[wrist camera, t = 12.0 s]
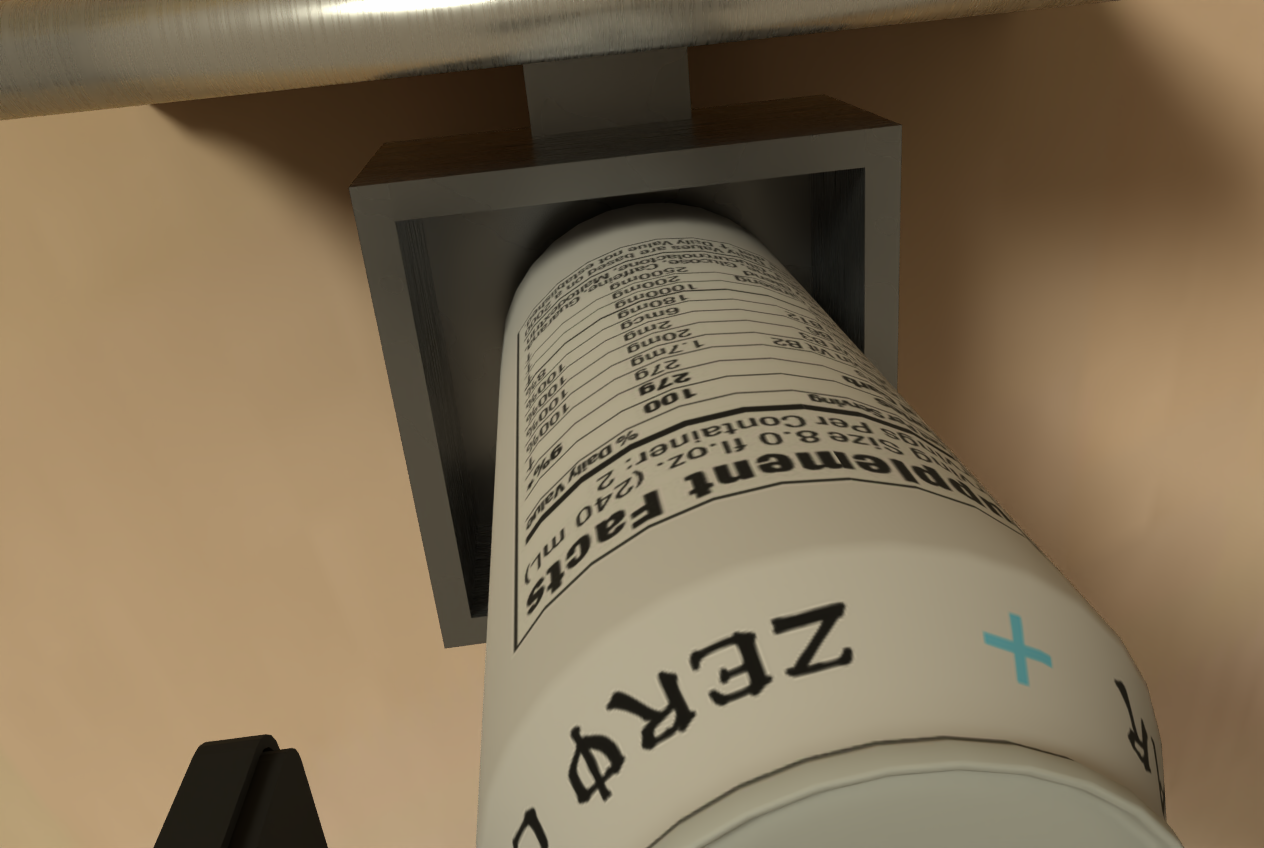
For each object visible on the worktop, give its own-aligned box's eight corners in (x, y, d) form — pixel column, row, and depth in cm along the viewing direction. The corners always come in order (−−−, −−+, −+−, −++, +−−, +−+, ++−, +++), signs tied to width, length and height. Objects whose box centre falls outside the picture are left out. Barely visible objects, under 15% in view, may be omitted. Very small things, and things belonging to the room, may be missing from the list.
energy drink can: (497, 464, 22) (459, 1293, 8) (507, 182, 19) (476, 681, 6) (770, 473, 22) (1157, 1243, 9) (812, 202, 20) (1434, 685, 6)
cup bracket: (994, 395, 27) (1246, 618, 18) (249, 491, 26) (99, 782, 17) (1031, -200, 22) (1433, -335, 12) (78, -109, 20) (-299, -180, 11)
